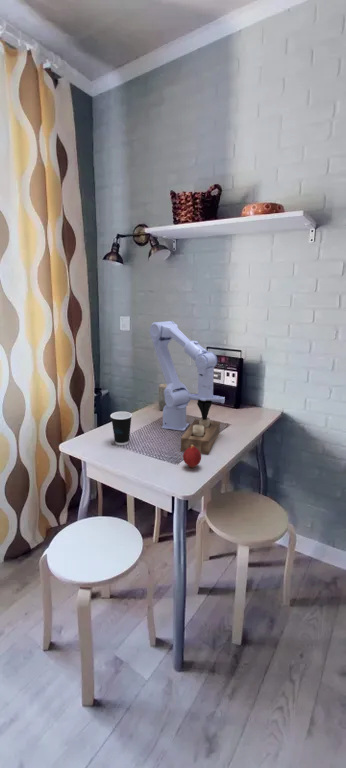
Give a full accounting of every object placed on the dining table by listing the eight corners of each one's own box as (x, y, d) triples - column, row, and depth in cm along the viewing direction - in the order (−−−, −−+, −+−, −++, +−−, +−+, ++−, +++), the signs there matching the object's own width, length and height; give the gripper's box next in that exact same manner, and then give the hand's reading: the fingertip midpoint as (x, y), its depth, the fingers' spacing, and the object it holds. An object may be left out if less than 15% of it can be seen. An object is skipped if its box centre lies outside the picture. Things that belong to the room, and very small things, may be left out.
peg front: (191, 439, 140) (191, 427, 138) (194, 435, 143) (194, 424, 142) (202, 441, 138) (202, 429, 137) (204, 436, 142) (205, 425, 141)
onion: (190, 461, 130) (190, 439, 128) (204, 466, 127) (205, 444, 125) (179, 467, 126) (179, 445, 124) (193, 473, 122) (194, 450, 120)
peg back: (198, 431, 149) (198, 419, 148) (200, 427, 153) (200, 416, 151) (208, 432, 148) (208, 421, 147) (210, 428, 151) (210, 417, 150)
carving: (155, 410, 182) (155, 385, 179) (164, 405, 188) (164, 382, 185) (166, 412, 178) (166, 387, 175) (175, 408, 184) (175, 384, 181)
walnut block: (180, 450, 139) (181, 437, 137) (194, 430, 157) (195, 419, 156) (208, 454, 136) (208, 441, 134) (219, 433, 154) (219, 421, 153)
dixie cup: (131, 437, 150) (130, 410, 147) (134, 445, 142) (133, 417, 140) (110, 439, 148) (109, 412, 145) (112, 448, 141) (111, 419, 138)
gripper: (184, 385, 144) (183, 420, 147) (222, 389, 140) (221, 424, 143) (189, 381, 150) (188, 414, 154) (226, 384, 146) (224, 418, 150)
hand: (204, 418), depth 149 cm, fingers closed, pressing on peg back
